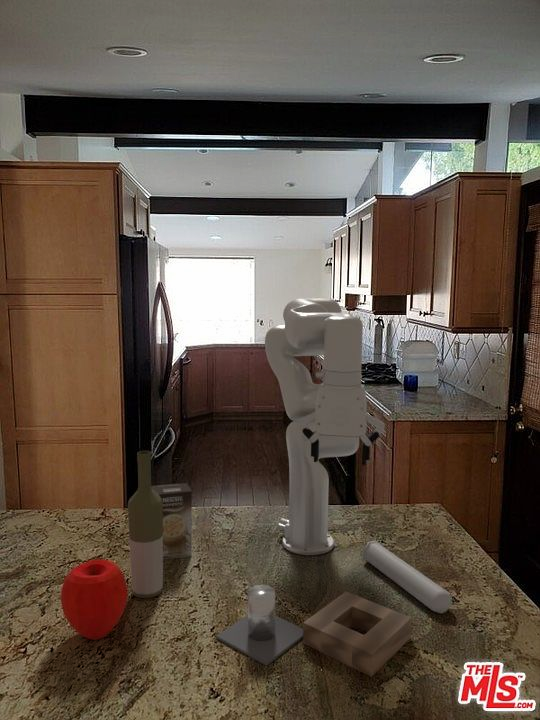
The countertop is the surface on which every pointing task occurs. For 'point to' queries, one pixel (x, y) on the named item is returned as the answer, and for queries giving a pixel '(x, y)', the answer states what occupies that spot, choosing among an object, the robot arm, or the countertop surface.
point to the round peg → (261, 612)
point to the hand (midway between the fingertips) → (339, 461)
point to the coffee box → (176, 519)
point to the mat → (262, 650)
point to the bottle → (146, 533)
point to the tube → (407, 577)
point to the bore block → (352, 647)
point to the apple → (94, 597)
